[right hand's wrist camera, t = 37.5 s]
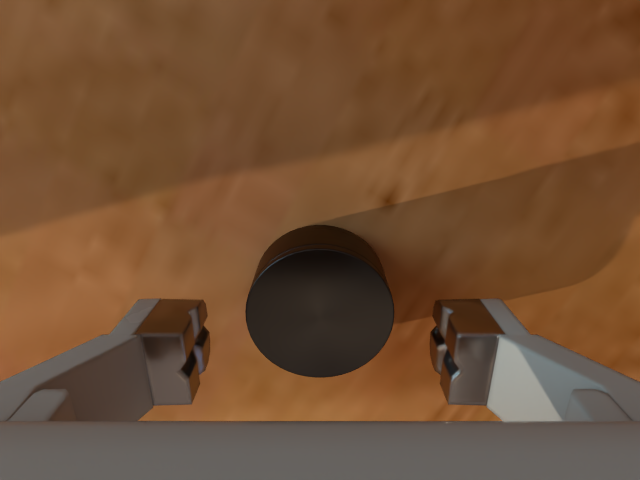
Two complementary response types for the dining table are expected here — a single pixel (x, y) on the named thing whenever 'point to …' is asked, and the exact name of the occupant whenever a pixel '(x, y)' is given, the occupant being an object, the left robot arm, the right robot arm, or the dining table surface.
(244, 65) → the dining table surface
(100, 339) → the right robot arm
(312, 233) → the cap
